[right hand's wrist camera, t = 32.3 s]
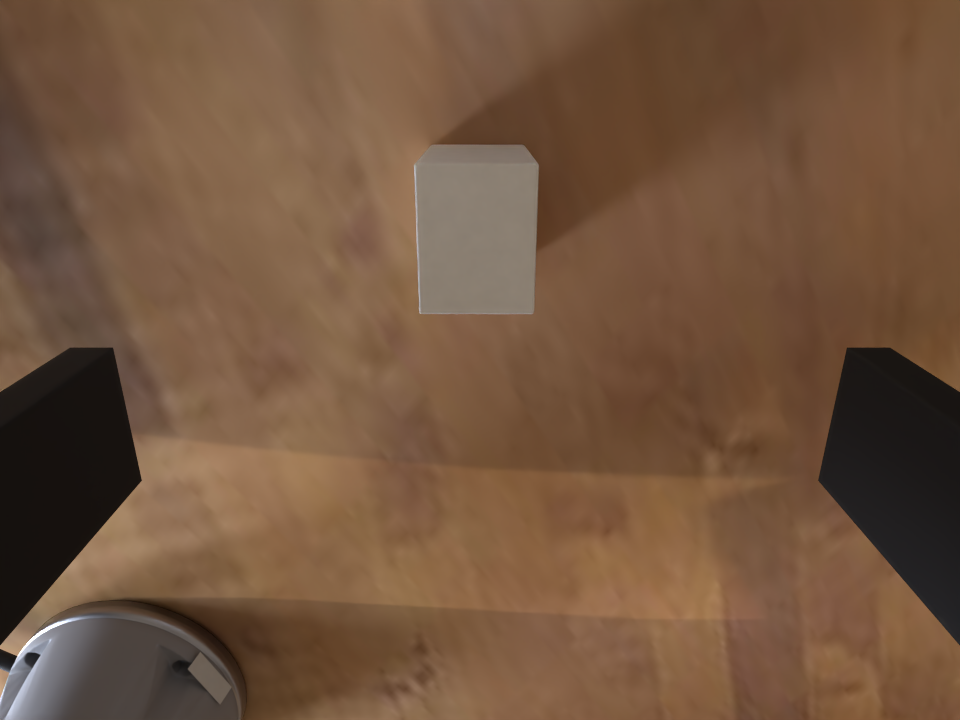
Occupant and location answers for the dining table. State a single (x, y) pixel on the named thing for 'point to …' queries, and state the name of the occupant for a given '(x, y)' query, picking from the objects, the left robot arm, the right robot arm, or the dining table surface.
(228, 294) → the dining table surface
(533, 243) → the block
